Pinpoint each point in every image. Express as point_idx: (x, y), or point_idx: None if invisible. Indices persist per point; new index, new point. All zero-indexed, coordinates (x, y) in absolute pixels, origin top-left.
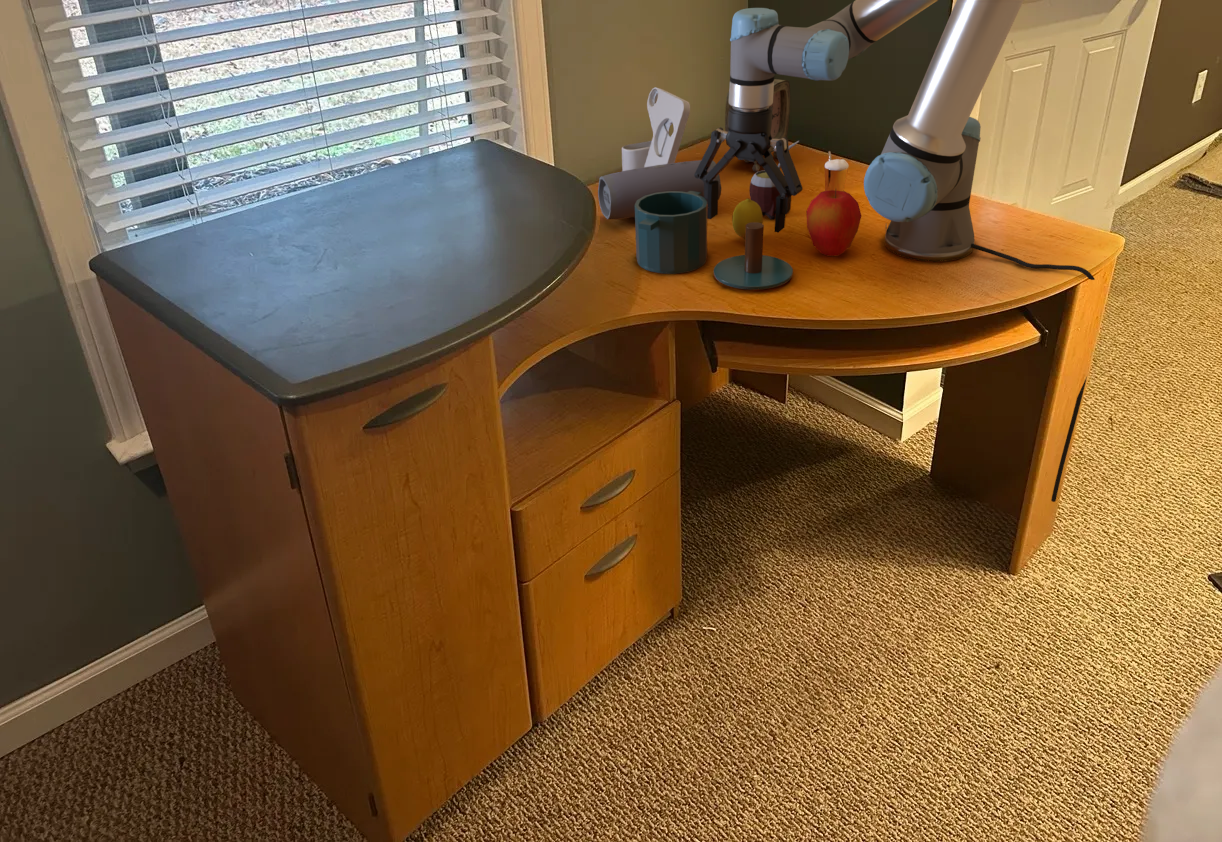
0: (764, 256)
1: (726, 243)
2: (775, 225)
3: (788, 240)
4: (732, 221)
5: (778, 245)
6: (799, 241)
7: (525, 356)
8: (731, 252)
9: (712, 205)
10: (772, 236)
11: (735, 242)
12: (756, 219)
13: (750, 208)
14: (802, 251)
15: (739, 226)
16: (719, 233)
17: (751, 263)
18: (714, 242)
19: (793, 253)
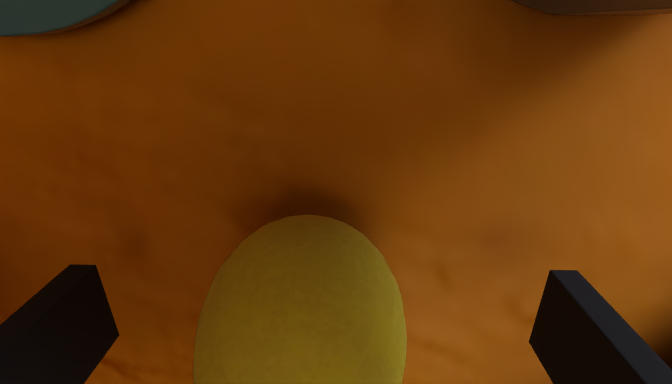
0: (23, 10)
1: (389, 173)
2: (60, 294)
3: (155, 312)
4: (386, 271)
5: (155, 253)
6: None
7: None
8: (308, 72)
9: (602, 359)
10: None
11: (353, 202)
12: (202, 309)
13: (227, 373)
14: (22, 239)
15: (311, 230)
16: (471, 262)
17: None
18: (455, 158)
19: (35, 202)
